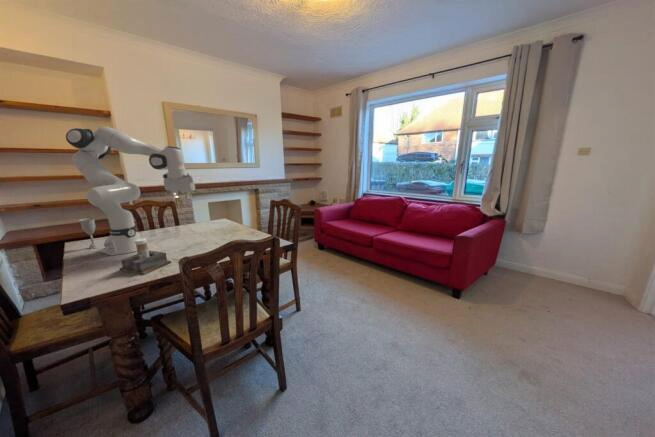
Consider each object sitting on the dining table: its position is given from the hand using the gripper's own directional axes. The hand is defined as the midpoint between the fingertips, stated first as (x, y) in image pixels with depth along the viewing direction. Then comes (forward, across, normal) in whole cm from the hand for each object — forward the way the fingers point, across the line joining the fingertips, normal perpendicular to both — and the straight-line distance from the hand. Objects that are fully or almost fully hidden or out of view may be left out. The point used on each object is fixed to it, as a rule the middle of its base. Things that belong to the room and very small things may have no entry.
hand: (181, 198), depth 150 cm
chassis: (+29, -6, +32) cm, 44 cm away
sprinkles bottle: (+28, -6, +32) cm, 44 cm away
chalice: (+29, +54, +21) cm, 65 cm away
